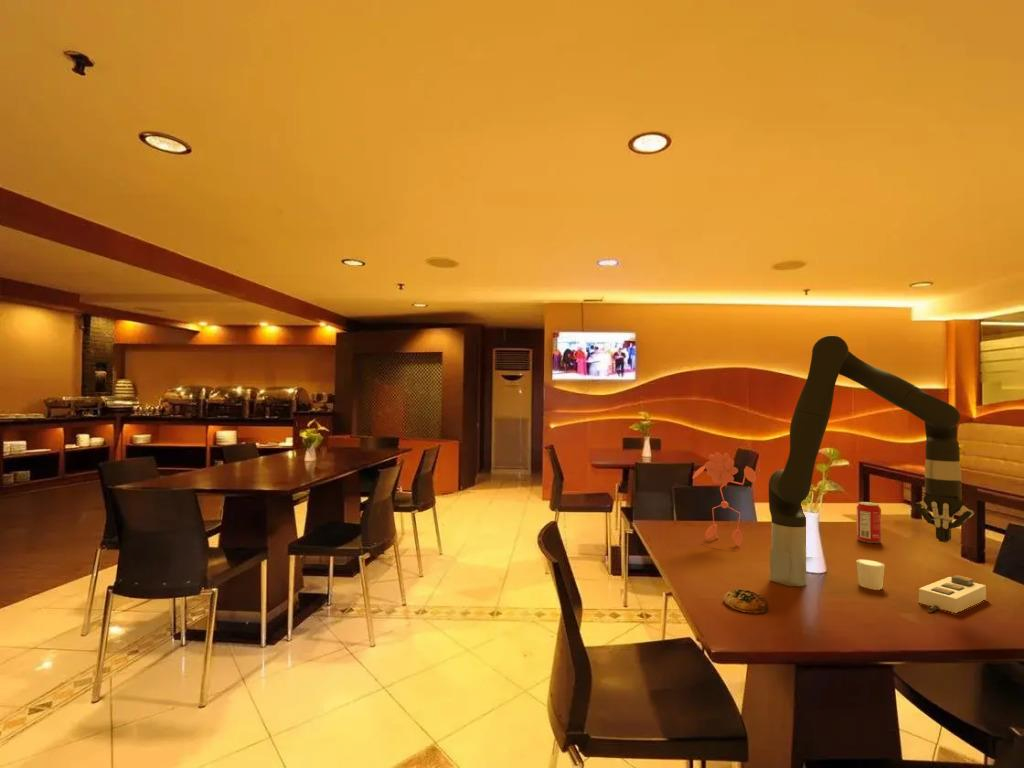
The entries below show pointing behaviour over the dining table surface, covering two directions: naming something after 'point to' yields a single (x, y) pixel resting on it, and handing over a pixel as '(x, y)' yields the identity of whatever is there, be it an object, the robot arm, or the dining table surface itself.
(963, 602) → the power strip
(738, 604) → the bread roll
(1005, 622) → the dining table surface
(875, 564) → the white soft cylinder
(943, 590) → the switch
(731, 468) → the pink stick figure
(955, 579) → the switch
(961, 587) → the switch middle
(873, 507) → the soda can
